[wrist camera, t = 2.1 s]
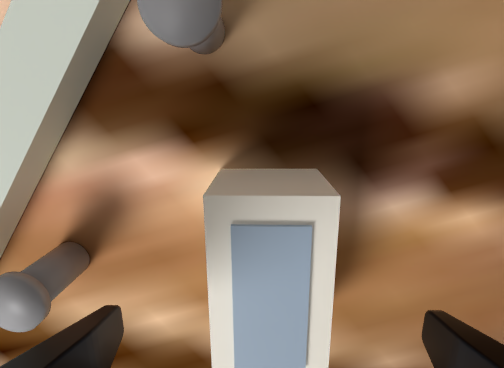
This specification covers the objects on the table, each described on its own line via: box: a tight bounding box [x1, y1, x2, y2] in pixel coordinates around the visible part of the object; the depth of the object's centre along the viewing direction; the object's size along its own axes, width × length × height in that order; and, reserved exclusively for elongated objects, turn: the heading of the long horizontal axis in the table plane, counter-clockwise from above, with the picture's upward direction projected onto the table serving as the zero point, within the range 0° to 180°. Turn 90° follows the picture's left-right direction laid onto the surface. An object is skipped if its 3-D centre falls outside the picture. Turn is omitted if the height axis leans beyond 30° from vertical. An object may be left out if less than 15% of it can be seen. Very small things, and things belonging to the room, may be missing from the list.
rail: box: [0, 0, 225, 332], centre depth 10 cm, size 6×20×3 cm, turn 146°
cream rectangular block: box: [203, 169, 341, 368], centre depth 11 cm, size 7×4×4 cm, turn 0°
